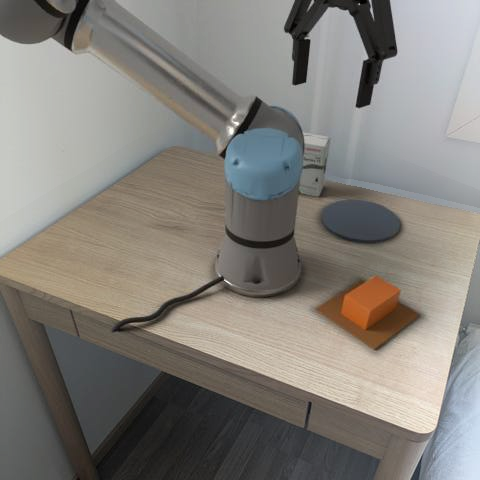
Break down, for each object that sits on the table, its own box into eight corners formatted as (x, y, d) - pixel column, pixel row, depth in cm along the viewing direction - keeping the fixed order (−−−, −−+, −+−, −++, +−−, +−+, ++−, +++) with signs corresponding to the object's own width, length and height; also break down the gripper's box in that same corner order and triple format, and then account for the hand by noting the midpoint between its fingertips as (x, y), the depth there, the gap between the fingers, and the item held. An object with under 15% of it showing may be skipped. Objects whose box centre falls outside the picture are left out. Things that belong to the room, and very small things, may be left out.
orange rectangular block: (365, 330, 77) (370, 311, 74) (340, 314, 80) (344, 295, 77) (395, 308, 81) (401, 289, 78) (371, 294, 84) (375, 275, 81)
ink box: (281, 190, 111) (285, 139, 103) (287, 181, 114) (291, 130, 106) (319, 197, 109) (326, 145, 101) (324, 187, 112) (331, 136, 104)
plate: (366, 252, 94) (367, 249, 93) (304, 218, 102) (305, 215, 102) (414, 223, 102) (415, 221, 101) (353, 194, 110) (354, 192, 110)
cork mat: (374, 350, 74) (375, 348, 74) (315, 310, 81) (315, 308, 81) (419, 316, 80) (420, 314, 80) (361, 281, 87) (361, 279, 87)
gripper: (451, -67, 60) (408, 110, 74) (303, -81, 74) (290, 71, 88) (415, -65, 56) (377, 122, 71) (267, -80, 70) (260, 79, 84)
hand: (329, 94), depth 79 cm, fingers open, 13 cm apart
